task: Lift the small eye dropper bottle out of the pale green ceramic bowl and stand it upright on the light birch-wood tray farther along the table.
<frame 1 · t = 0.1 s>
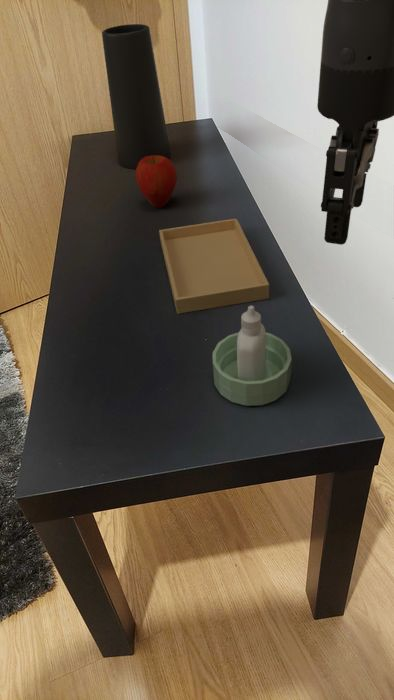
hand: (343, 222, 55), 22 cm above the table, tool pointing down, fingers open, 8 cm apart
vase: (144, 159, 132), on the table
bowl: (251, 379, 70), on the table
eye dropper bottle: (251, 378, 69), resting on bowl
apple: (160, 206, 111), on the table
tray: (210, 268, 91), on the table
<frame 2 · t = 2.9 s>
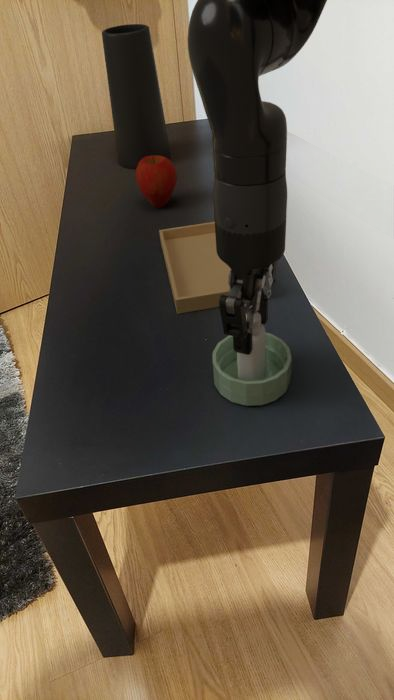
hand: (251, 335, 64), 8 cm above the table, tool pointing down, fingers closed on eye dropper bottle, 5 cm apart
eye dropper bottle: (251, 378, 69), resting on bowl, touching gripper
everything else where it was.
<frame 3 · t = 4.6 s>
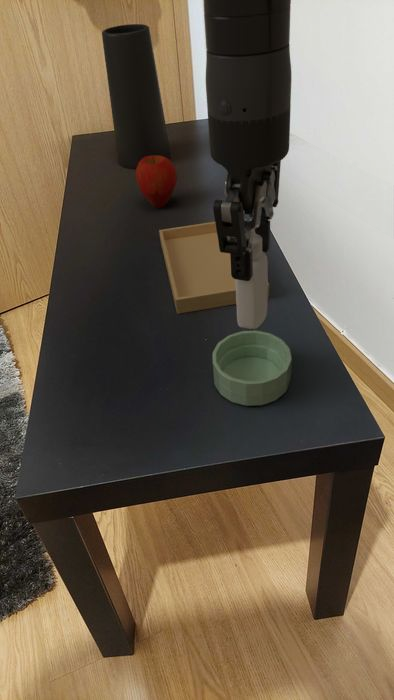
hand: (251, 263, 57), 19 cm above the table, tool pointing down, fingers closed on eye dropper bottle, 5 cm apart
eye dropper bottle: (252, 317, 62), point 11 cm above the table, touching gripper
everything else where it was.
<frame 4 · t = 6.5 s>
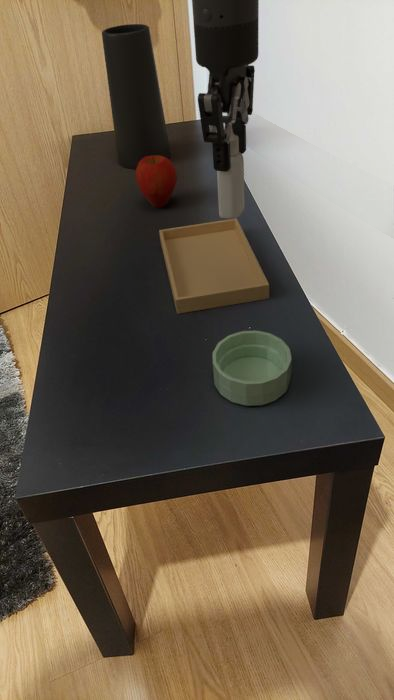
hand: (230, 160, 70), 22 cm above the table, tool pointing down, fingers closed on eye dropper bottle, 5 cm apart
eye dropper bottle: (231, 212, 75), point 15 cm above the table, touching gripper
everything else where it was.
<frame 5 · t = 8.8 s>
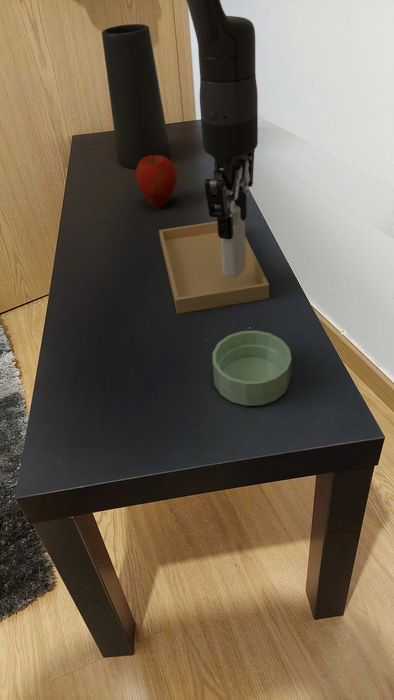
hand: (233, 227, 78), 11 cm above the table, tool pointing down, fingers closed on eye dropper bottle, 5 cm apart
eye dropper bottle: (234, 269, 83), point 4 cm above the table, touching gripper
everything else where it was.
when the fingers open (8 cm above the table, at t = 10.2 s): eye dropper bottle stays where it is, resting on tray.
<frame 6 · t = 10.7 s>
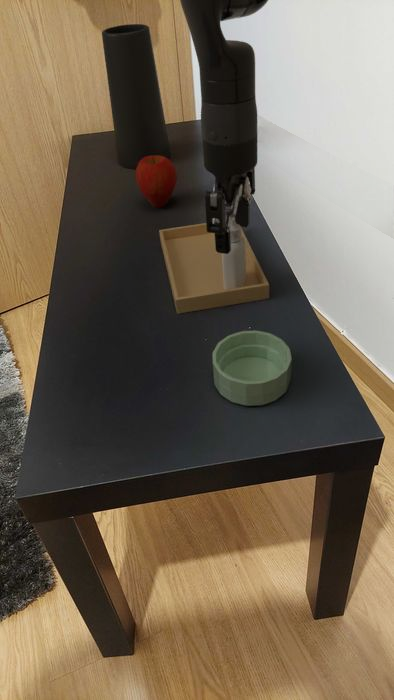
hand: (233, 238, 80), 9 cm above the table, tool pointing down, fingers open, 8 cm apart
eye dropper bottle: (235, 285, 85), point 1 cm above the table, touching tray
everything else where it was.
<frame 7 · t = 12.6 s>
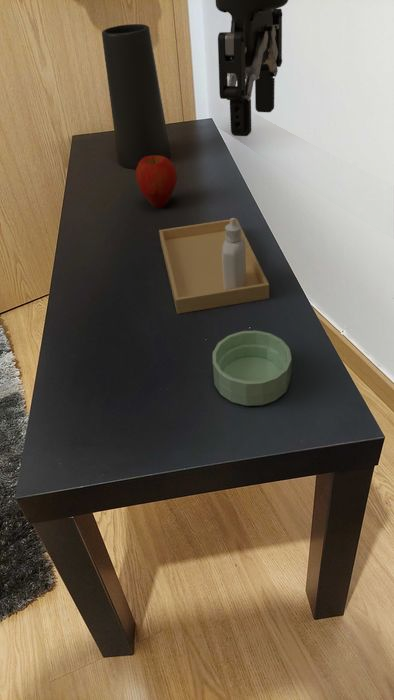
hand: (253, 122, 60), 29 cm above the table, tool pointing down, fingers open, 8 cm apart
nothing on the table moved.
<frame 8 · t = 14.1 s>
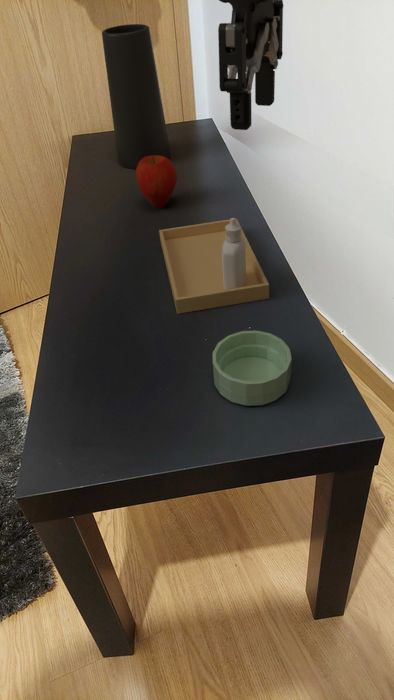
hand: (253, 116, 60), 30 cm above the table, tool pointing down, fingers open, 8 cm apart
nothing on the table moved.
at the end: eye dropper bottle 7.8 cm from the tray (horizontally); eye dropper bottle point 0.6 cm above the table; eye dropper bottle tilted 0° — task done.
